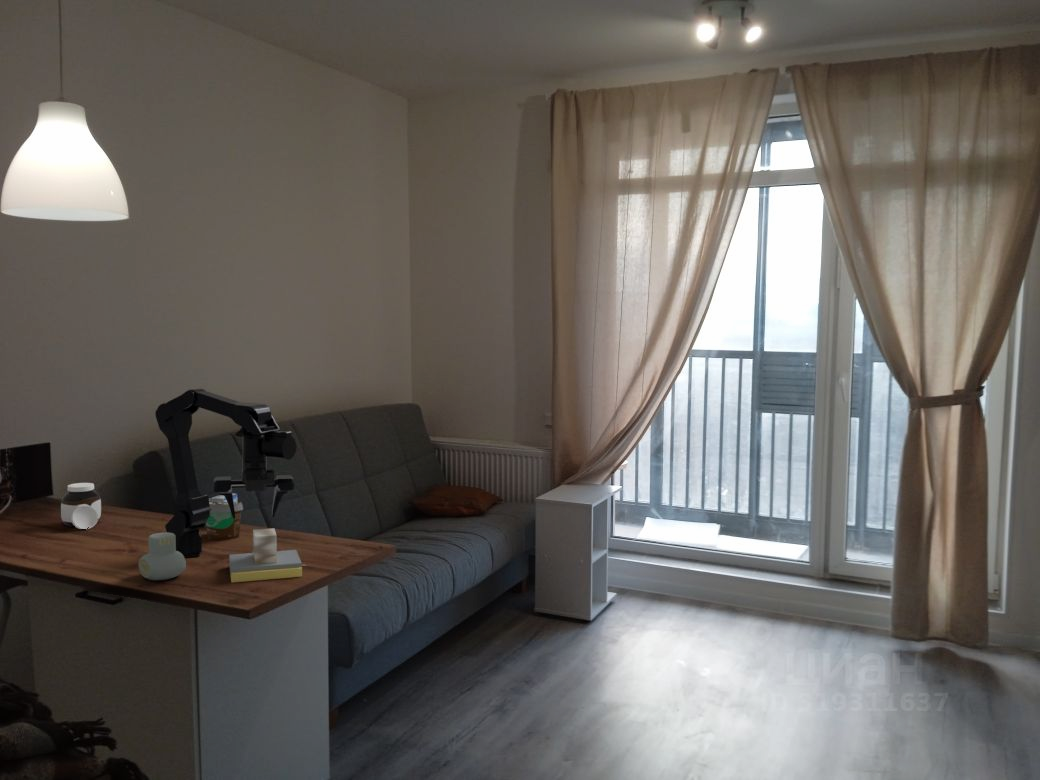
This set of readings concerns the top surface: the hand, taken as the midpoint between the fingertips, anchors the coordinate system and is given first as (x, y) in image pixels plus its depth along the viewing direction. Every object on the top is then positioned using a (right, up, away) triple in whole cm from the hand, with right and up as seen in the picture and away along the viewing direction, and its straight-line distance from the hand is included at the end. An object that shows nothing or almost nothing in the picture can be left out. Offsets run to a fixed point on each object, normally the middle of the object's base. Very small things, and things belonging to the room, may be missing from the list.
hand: (253, 517), depth 208 cm
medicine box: (-21, -8, +40) cm, 46 cm away
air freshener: (-18, -13, -10) cm, 24 cm away
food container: (-18, -10, +25) cm, 32 cm away
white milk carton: (+4, -9, -4) cm, 11 cm away
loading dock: (+4, -12, -4) cm, 13 cm away
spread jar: (-60, -8, +35) cm, 70 cm away
